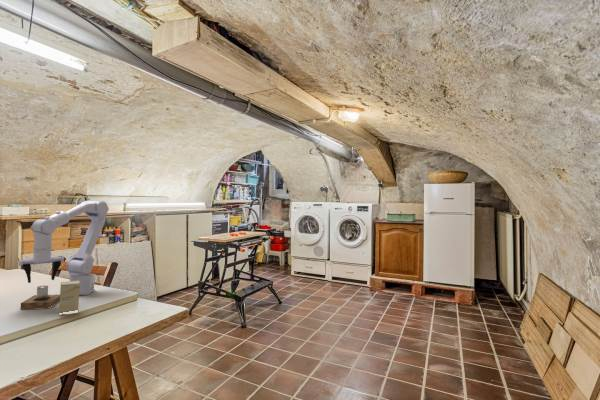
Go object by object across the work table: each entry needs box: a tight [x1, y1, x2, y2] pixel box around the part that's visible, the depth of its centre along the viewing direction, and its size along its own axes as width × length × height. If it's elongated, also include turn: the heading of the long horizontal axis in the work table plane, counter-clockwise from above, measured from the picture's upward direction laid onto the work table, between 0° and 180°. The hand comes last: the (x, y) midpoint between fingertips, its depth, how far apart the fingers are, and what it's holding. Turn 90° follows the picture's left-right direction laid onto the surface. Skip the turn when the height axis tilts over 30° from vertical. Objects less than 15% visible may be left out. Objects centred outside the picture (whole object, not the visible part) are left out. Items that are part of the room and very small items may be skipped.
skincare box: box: [58, 280, 80, 314], centre depth 127 cm, size 6×4×12 cm
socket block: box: [20, 294, 60, 310], centre depth 134 cm, size 10×10×2 cm
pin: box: [36, 285, 49, 301], centre depth 133 cm, size 4×4×7 cm
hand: (41, 280), depth 133 cm, fingers open, 7 cm apart
